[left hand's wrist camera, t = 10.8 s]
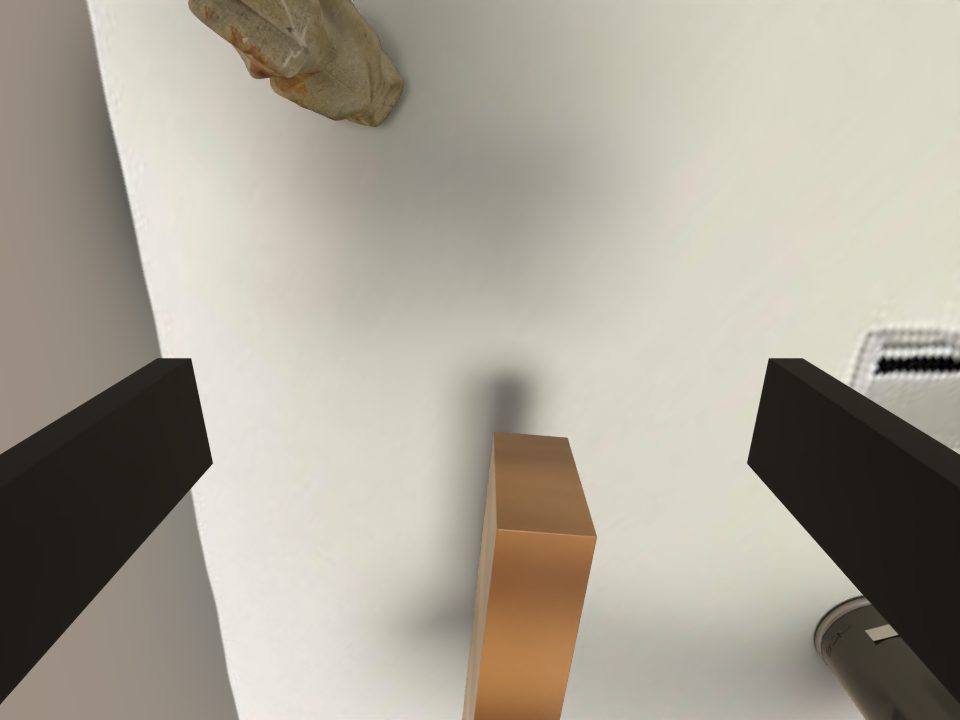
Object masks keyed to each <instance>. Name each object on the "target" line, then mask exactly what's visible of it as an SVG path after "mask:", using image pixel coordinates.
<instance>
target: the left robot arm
mask: <svg viewBox="0 0 960 720" xmlns="http://www.w3.org/2000/svg"><path fill="white" fill-rule="evenodd" d="M212 464H213V461H212V457H211V452H210V447H209V442H208V437H207V433H206V428H205V423H204V418H203V413H202V408H201V404H200V399H199V394H198V389H197V384H196V380H195V375H194V370H193V365H192V360H191V358H157V359H156V360H154V361H152V362H151V363H149V364H147V365H146V366H144V367H142V368H141V369H139V370H138V371H136V372H134V373H133V374H131V375H129V376H128V377H126V378H125V379H123V380H121V381H120V382H118V383H116V384H115V385H113V386H112V387H110V388H108V389H107V390H105V391H103V392H102V393H100V394H98V395H97V396H95V397H94V398H92V399H90V400H89V401H87V402H85V403H84V404H82V405H80V406H79V407H77V408H76V409H74V410H72V411H71V412H69V413H67V414H66V415H64V416H62V417H61V418H59V419H58V420H56V421H54V422H53V423H51V424H49V425H48V426H46V427H45V428H43V429H41V430H40V431H38V432H36V433H35V434H33V435H31V436H30V437H28V438H27V439H25V440H23V441H22V442H20V443H18V444H17V445H15V446H14V447H12V448H10V449H9V450H7V451H5V452H4V453H2V454H0V704H1V703H2V702H3V701H4V700H5V698H6V697H7V696H8V695H9V694H10V693H11V692H12V691H13V689H14V688H15V687H16V686H17V685H18V684H19V683H20V681H21V680H22V679H23V678H24V677H25V676H26V675H27V674H28V672H29V671H30V670H31V669H32V668H33V667H34V666H35V664H36V663H37V662H38V661H39V660H40V659H41V658H42V657H43V655H44V654H45V653H46V652H47V651H48V650H49V649H50V647H51V646H52V645H53V644H54V643H55V642H56V641H57V639H58V638H59V637H60V636H61V635H62V634H63V633H64V632H65V630H66V629H67V628H68V627H69V626H70V625H71V624H72V623H73V621H74V620H75V619H76V618H77V617H78V616H79V615H80V613H81V612H82V611H83V610H84V609H85V608H86V607H87V606H88V604H89V603H90V602H91V601H92V600H93V599H94V598H95V596H96V595H97V594H98V593H99V592H100V591H101V590H102V589H103V587H104V586H105V585H106V584H107V583H108V582H109V581H110V579H111V578H112V577H113V576H114V575H115V574H116V573H117V572H118V570H119V569H120V568H121V567H122V566H123V565H124V564H125V562H126V561H127V560H128V559H129V558H130V557H131V556H132V554H133V553H134V552H135V551H136V550H137V549H138V548H139V547H140V545H141V544H142V543H143V542H144V541H145V540H146V539H147V538H148V536H149V535H150V534H151V533H152V532H153V531H154V530H155V528H156V527H157V526H158V525H159V524H160V523H161V522H162V521H163V519H164V518H165V517H166V516H167V515H168V514H169V513H170V511H171V510H172V509H173V508H174V507H175V506H176V505H177V504H178V502H179V501H180V500H181V499H182V498H183V497H184V496H185V495H186V493H187V492H188V491H189V490H190V489H191V488H192V487H193V485H194V484H195V483H196V482H197V481H198V480H199V479H200V478H201V476H202V475H203V474H204V473H205V472H206V471H207V470H208V468H209V467H210V466H211V465H212ZM747 464H748V465H749V466H750V467H751V468H752V470H753V471H754V472H755V473H756V474H757V475H758V476H759V478H760V479H761V480H762V481H763V482H764V483H765V484H766V485H767V487H768V488H769V489H770V490H771V491H772V492H773V493H774V495H775V496H776V497H777V498H778V499H779V500H780V501H781V502H782V504H783V505H784V506H785V507H786V508H787V509H788V510H789V512H790V513H791V514H792V515H793V516H794V517H795V518H796V519H797V521H798V522H799V523H800V524H801V525H802V526H803V527H804V528H805V530H806V531H807V532H808V533H809V534H810V535H811V536H812V538H813V539H814V540H815V541H816V542H817V543H818V544H819V545H820V547H821V548H822V549H823V550H824V551H825V552H826V553H827V555H828V556H829V557H830V558H831V559H832V560H833V561H834V562H835V564H836V565H837V566H838V567H839V568H840V569H841V570H842V572H843V573H844V574H845V575H846V576H847V577H848V578H849V579H850V581H851V582H852V583H853V584H854V585H855V586H856V587H857V589H858V590H859V591H860V592H861V593H862V594H863V595H864V596H865V598H866V599H867V600H868V601H869V602H870V603H871V604H872V606H873V607H874V608H875V609H876V610H877V611H878V612H879V613H880V615H881V616H882V617H883V618H884V619H885V620H886V621H887V623H888V624H889V625H890V626H891V627H892V628H893V629H894V630H895V632H896V633H897V634H898V635H899V636H900V637H901V638H902V640H903V641H904V642H905V643H906V644H907V645H908V646H909V647H910V649H911V650H912V651H913V652H914V653H915V654H916V655H917V657H918V658H919V659H920V660H921V661H922V662H923V663H924V664H925V666H926V667H927V668H928V669H929V670H930V671H931V672H932V674H933V675H934V676H935V677H936V678H937V679H938V680H939V681H940V683H941V684H942V685H943V686H944V687H945V688H946V689H947V691H948V692H949V693H950V694H951V695H952V696H953V697H954V698H955V700H956V701H957V702H958V703H959V704H960V454H958V453H956V452H955V451H953V450H951V449H950V448H948V447H947V446H945V445H943V444H942V443H940V442H938V441H937V440H935V439H933V438H932V437H930V436H929V435H927V434H925V433H924V432H922V431H920V430H919V429H917V428H915V427H914V426H912V425H911V424H909V423H907V422H906V421H904V420H902V419H901V418H899V417H898V416H896V415H894V414H893V413H891V412H889V411H888V410H886V409H884V408H883V407H881V406H880V405H878V404H876V403H875V402H873V401H871V400H870V399H868V398H867V397H865V396H863V395H862V394H860V393H858V392H857V391H855V390H853V389H852V388H850V387H849V386H847V385H845V384H844V383H842V382H840V381H839V380H837V379H835V378H834V377H832V376H831V375H829V374H827V373H826V372H824V371H822V370H821V369H819V368H818V367H816V366H814V365H813V364H811V363H809V362H808V361H806V360H804V359H803V358H769V360H768V365H767V370H766V375H765V380H764V384H763V389H762V394H761V399H760V404H759V408H758V413H757V418H756V423H755V428H754V433H753V437H752V442H751V447H750V452H749V457H748V461H747Z"/></svg>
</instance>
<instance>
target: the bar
mask: <svg viewBox="0 0 960 720" xmlns="http://www.w3.org/2000/svg"><path fill="white" fill-rule="evenodd" d="M596 539H597V535H596V532H595V529H594V525H593V522H592V518H591V515H590V512H589V508H588V505H587V502H586V498H585V495H584V492H583V488H582V485H581V481H580V478H579V475H578V471H577V468H576V465H575V461H574V458H573V455H572V451H571V448H570V444H569V441H568V438H564V437H552V436H539V435H527V434H515V433H503V432H494V433H493V442H492V451H491V460H490V469H489V478H488V488H487V497H486V506H485V515H484V524H483V534H482V543H481V552H480V561H479V570H478V579H477V589H476V598H475V607H474V616H473V625H472V635H471V644H470V653H469V662H468V671H467V680H466V690H465V699H464V708H463V717H462V720H560V716H561V711H562V706H563V701H564V696H565V691H566V686H567V681H568V676H569V672H570V667H571V662H572V657H573V652H574V647H575V642H576V637H577V632H578V627H579V623H580V618H581V613H582V608H583V603H584V598H585V593H586V588H587V583H588V579H589V574H590V569H591V564H592V559H593V554H594V549H595V544H596Z"/></svg>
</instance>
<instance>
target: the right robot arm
mask: <svg viewBox="0 0 960 720" xmlns="http://www.w3.org/2000/svg"><path fill="white" fill-rule="evenodd" d="M815 646H816V649H817V651H818V653H819V655H820V656H821V657H822V659H823V660H824V662H825V663H826V664H827V665H828V666H829V667H830V669H831V670H832V671H833V673H834V674H835V676H836V677H837V679H838V680H839V682H840V683H841V685H842V686H843V688H844V689H845V691H846V692H847V694H848V695H849V697H850V698H851V700H852V701H853V702H854V704H855V705H856V707H857V708H858V710H859V711H860V713H861V714H862V715H863V717H864V718H865V720H960V704H959V703H958V702H957V701H956V700H955V698H954V697H953V696H952V695H951V694H950V693H949V692H948V691H947V689H946V688H945V687H944V686H943V685H942V684H941V683H940V681H939V680H938V679H937V678H936V677H935V676H934V675H933V674H932V672H931V671H930V670H929V669H928V668H927V667H926V666H925V664H924V663H923V662H922V661H921V660H920V659H919V658H918V657H917V655H916V654H915V653H914V652H913V651H912V650H911V649H910V647H909V646H908V645H907V644H906V643H905V642H904V641H903V640H902V638H901V637H900V636H899V635H898V634H897V633H896V632H895V630H894V629H893V628H892V627H891V626H890V625H889V624H888V623H887V621H886V620H885V619H884V618H883V617H882V616H881V615H880V613H879V612H878V611H877V610H876V609H875V608H874V607H873V606H872V604H871V603H870V602H869V601H868V600H867V599H866V598H860V599H856V600H853V601H850V602H848V603H845V604H843V605H842V606H840V607H838V608H837V609H835V610H834V611H832V612H831V613H830V614H829V615H828V616H827V617H826V618H825V619H824V620H823V621H822V623H821V624H820V626H819V628H818V630H817V632H816V636H815Z"/></svg>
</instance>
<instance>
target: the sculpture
mask: <svg viewBox="0 0 960 720" xmlns="http://www.w3.org/2000/svg"><path fill="white" fill-rule="evenodd" d="M188 4H189V8H190V10H191V12H192V13H193V14H194V15H195V16H196V17H197V18H198V19H199V20H200V21H202V22H203V23H204V24H205V25H207V26H208V27H209V28H211V29H212V30H213V31H214V32H216V33H217V34H218V35H220V36H221V37H222V38H224V39H225V40H227V41H228V42H229V43H231V44H232V45H233V46H234V48H235V49H236V50H237V51H238V53H239V54H240V56H241V57H242V59H243V61H244V62H245V65H246V67H247V69H248V72H249V73H250V75H251V76H252V77H253V78H255V79H263V78H270V84H271V87H272V89H273V90H274V92H275V93H277V94H278V95H280V96H282V97H284V98H286V99H288V100H290V101H292V102H294V103H296V104H298V105H299V106H301V107H303V108H306V109H309V110H312V111H314V112H316V113H319V114H321V115H323V116H325V117H328V118H330V119H332V120H343V119H348V120H350V121H353V122H356V123H359V124H362V125H366V126H371V127H377V126H379V125H380V124H381V123H382V121H383V120H384V119H385V118H386V116H387V115H388V114H389V112H390V111H391V109H392V108H393V106H394V105H395V103H396V102H397V100H398V98H399V96H400V94H401V93H402V90H403V88H404V82H403V80H402V77H401V76H400V74H399V72H398V70H397V68H396V67H395V65H394V64H393V62H392V61H391V59H390V58H389V57H388V55H387V54H386V53H385V52H384V50H383V49H382V48H381V46H380V41H379V38H378V37H377V35H376V33H375V32H374V30H373V29H372V28H371V27H370V25H369V24H368V23H367V22H366V21H365V20H364V18H363V17H362V16H361V14H360V13H359V12H358V10H357V9H356V7H355V6H354V5H353V3H352V2H351V0H189V2H188Z"/></svg>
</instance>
